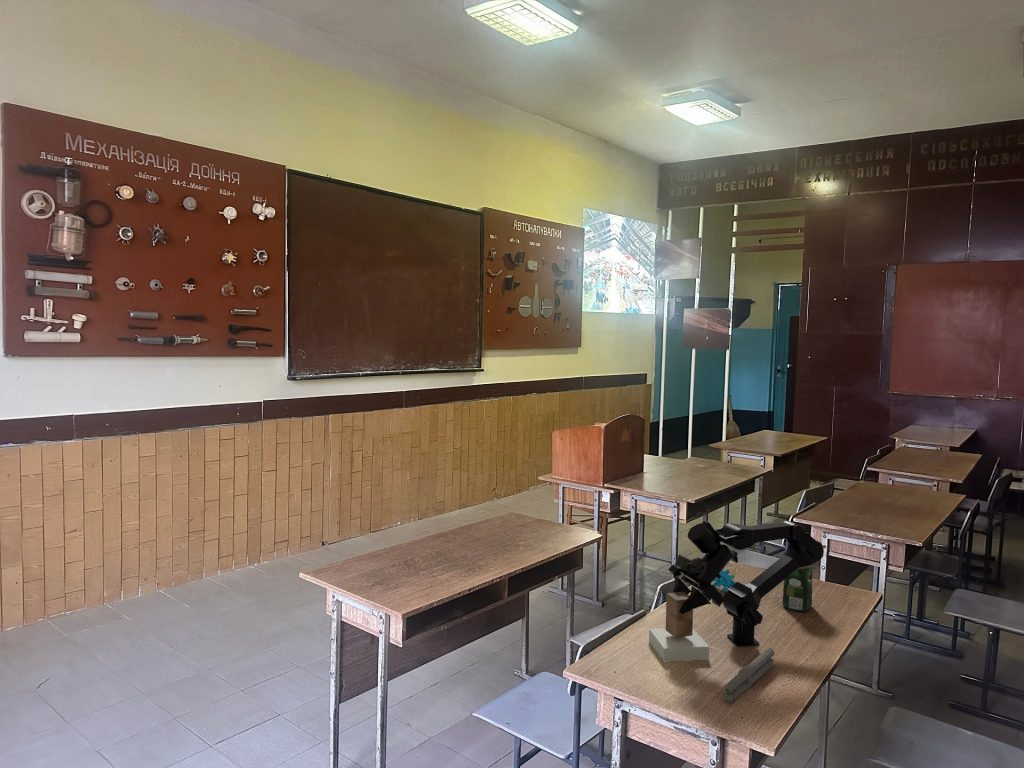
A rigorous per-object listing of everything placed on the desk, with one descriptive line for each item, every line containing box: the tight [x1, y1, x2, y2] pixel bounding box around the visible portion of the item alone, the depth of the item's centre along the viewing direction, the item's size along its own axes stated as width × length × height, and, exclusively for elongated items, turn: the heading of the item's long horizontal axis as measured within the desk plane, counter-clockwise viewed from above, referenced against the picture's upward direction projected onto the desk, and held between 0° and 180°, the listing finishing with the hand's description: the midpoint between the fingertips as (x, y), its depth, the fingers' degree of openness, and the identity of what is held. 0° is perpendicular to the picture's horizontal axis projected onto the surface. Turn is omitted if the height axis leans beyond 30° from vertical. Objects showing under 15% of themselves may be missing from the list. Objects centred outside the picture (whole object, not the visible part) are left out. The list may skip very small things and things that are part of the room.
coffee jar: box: [781, 549, 814, 612], centre depth 215 cm, size 10×8×19 cm
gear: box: [711, 567, 736, 593], centre depth 231 cm, size 11×6×10 cm
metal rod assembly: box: [723, 647, 775, 705], centre depth 166 cm, size 26×3×5 cm, turn 139°
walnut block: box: [665, 592, 694, 638], centre depth 183 cm, size 5×5×10 cm
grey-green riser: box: [648, 627, 710, 662], centre depth 184 cm, size 12×12×4 cm
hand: (674, 608), depth 183 cm, fingers closed on walnut block, 5 cm apart
